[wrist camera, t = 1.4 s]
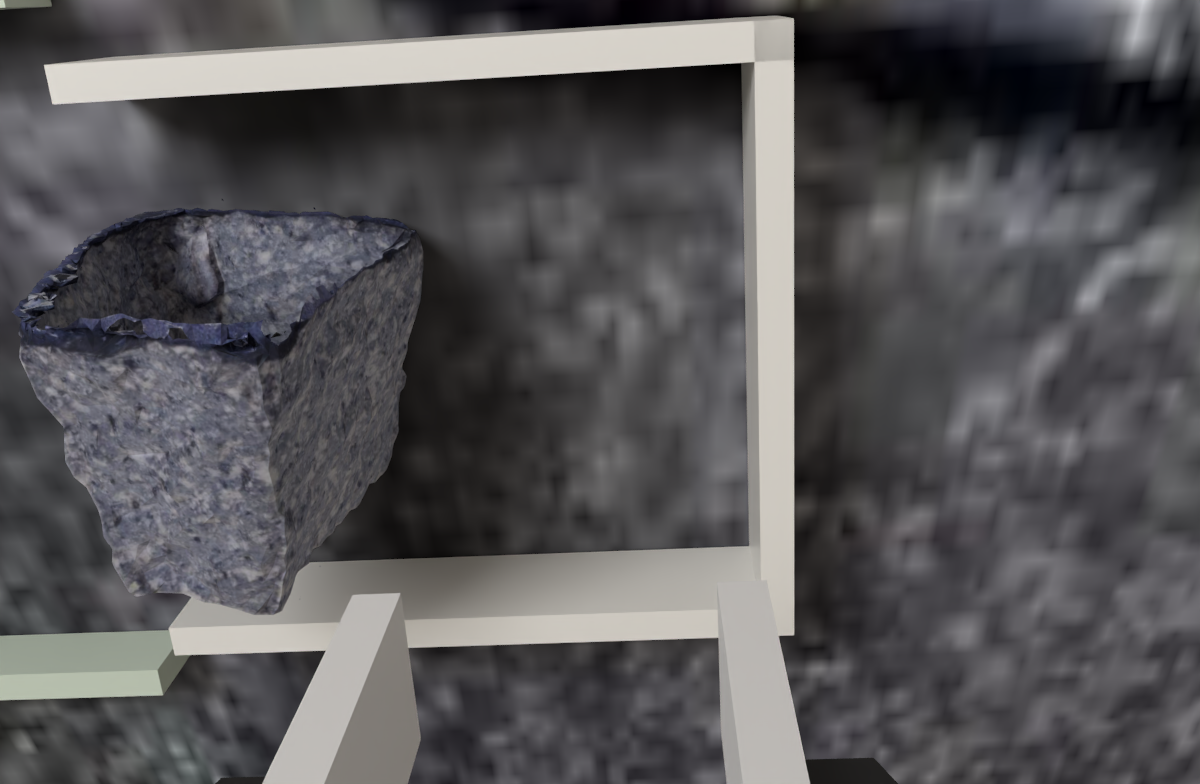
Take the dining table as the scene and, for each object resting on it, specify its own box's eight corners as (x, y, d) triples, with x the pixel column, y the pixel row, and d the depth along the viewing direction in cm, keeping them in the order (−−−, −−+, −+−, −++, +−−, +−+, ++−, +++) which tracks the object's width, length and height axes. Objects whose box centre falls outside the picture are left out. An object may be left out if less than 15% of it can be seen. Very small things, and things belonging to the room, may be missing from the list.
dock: (220, 591, 39) (174, 655, 35) (112, 56, 33) (43, 64, 29) (779, 571, 38) (794, 635, 34) (775, 15, 32) (794, 18, 28)
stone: (189, 130, 35) (474, 170, 32) (238, 396, 40) (488, 452, 37) (-146, 278, 25) (218, 355, 22) (-26, 604, 30) (284, 702, 28)
